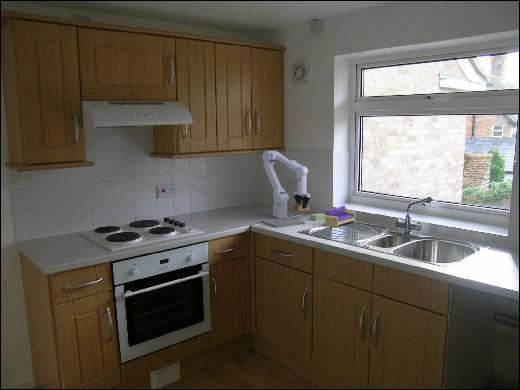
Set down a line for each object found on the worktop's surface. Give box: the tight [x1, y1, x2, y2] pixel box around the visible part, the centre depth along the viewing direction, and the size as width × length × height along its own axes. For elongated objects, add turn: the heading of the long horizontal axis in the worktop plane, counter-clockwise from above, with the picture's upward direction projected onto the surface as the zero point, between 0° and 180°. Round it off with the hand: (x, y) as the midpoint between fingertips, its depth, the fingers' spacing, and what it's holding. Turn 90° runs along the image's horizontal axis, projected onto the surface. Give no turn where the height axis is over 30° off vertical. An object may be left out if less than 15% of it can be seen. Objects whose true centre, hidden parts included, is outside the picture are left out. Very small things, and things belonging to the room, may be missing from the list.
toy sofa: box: [324, 205, 357, 229], centre depth 269 cm, size 21×9×10 cm, turn 137°
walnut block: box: [293, 203, 311, 212], centre depth 284 cm, size 6×8×4 cm
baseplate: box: [260, 216, 305, 228], centre depth 275 cm, size 18×20×1 cm
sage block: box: [309, 212, 326, 222], centre depth 285 cm, size 6×8×4 cm
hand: (301, 207), depth 284 cm, fingers closed on walnut block, 5 cm apart
